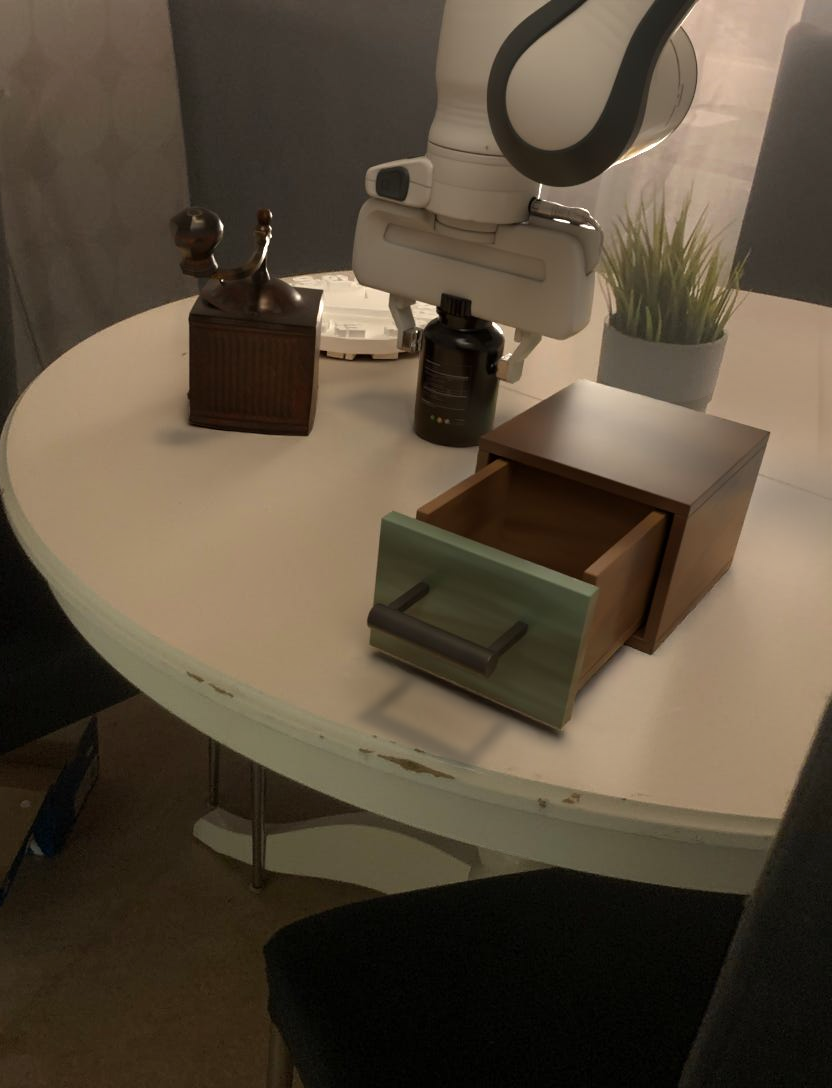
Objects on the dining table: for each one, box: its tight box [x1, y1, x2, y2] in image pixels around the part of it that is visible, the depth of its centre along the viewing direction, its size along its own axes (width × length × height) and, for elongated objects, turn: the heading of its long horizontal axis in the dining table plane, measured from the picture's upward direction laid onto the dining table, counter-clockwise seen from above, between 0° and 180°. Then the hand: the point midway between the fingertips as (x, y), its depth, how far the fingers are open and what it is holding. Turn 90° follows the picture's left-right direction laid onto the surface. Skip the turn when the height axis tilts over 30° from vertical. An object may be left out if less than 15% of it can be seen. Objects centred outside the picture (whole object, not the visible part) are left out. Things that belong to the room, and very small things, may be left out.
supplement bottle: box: [413, 293, 506, 447], centre depth 92 cm, size 7×7×12 cm
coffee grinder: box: [168, 205, 324, 436], centre depth 89 cm, size 16×11×18 cm
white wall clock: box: [288, 274, 438, 361], centre depth 115 cm, size 20×20×3 cm
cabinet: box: [474, 377, 771, 655], centre depth 73 cm, size 15×14×10 cm
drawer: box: [366, 457, 674, 730], centre depth 63 cm, size 18×12×8 cm
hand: (457, 364), depth 92 cm, fingers open, 8 cm apart
